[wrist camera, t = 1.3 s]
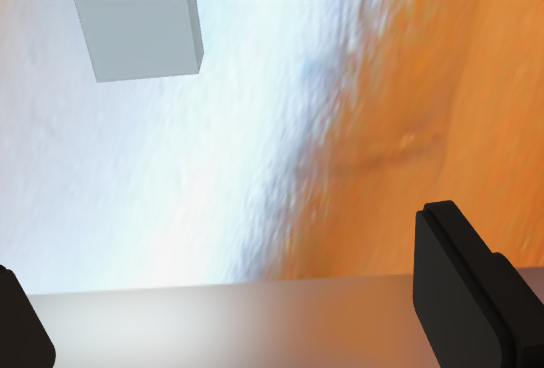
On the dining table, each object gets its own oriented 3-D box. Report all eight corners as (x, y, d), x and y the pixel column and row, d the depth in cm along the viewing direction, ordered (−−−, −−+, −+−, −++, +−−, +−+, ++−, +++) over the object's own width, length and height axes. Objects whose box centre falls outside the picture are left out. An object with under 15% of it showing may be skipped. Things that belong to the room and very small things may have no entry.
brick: (84, -68, 25) (56, -65, 21) (185, -76, 25) (175, -75, 21) (116, 59, 28) (96, 82, 25) (204, 52, 29) (198, 73, 25)
